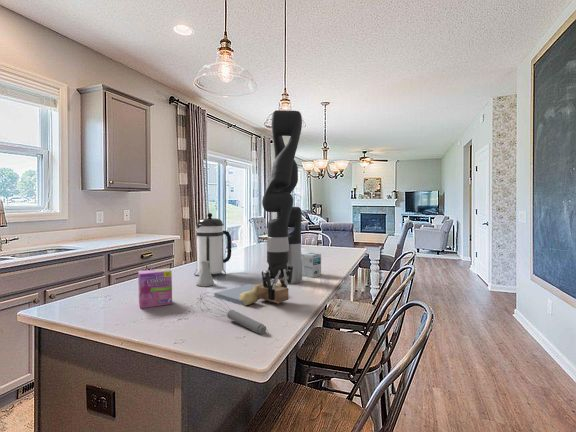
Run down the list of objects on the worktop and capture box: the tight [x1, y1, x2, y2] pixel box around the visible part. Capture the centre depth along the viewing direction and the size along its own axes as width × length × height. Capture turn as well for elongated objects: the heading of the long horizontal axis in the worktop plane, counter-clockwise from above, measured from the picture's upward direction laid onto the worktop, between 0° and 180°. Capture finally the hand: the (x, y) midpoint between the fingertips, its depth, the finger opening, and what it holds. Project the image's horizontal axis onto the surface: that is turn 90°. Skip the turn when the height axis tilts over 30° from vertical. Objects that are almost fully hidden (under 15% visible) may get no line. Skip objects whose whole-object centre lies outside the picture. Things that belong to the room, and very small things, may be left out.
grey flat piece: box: [213, 282, 281, 306], centre depth 128 cm, size 18×18×4 cm
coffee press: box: [194, 212, 232, 277], centre depth 165 cm, size 17×16×30 cm
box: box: [137, 267, 173, 309], centre depth 118 cm, size 10×6×12 cm, turn 117°
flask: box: [195, 261, 215, 287], centre depth 146 cm, size 7×7×10 cm
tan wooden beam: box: [253, 283, 289, 304], centre depth 121 cm, size 12×6×4 cm, turn 50°
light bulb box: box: [301, 251, 322, 278], centre depth 165 cm, size 11×7×11 cm, turn 49°
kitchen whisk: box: [196, 291, 270, 336], centre depth 102 cm, size 6×34×6 cm, turn 46°
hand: (277, 297), depth 119 cm, fingers closed on tan wooden beam, 5 cm apart
